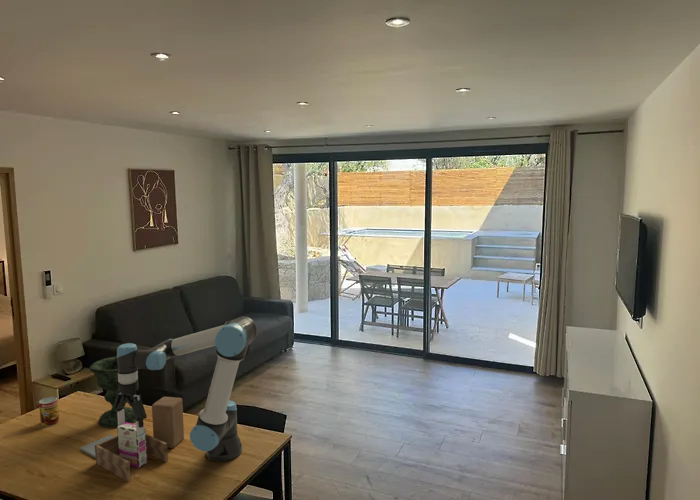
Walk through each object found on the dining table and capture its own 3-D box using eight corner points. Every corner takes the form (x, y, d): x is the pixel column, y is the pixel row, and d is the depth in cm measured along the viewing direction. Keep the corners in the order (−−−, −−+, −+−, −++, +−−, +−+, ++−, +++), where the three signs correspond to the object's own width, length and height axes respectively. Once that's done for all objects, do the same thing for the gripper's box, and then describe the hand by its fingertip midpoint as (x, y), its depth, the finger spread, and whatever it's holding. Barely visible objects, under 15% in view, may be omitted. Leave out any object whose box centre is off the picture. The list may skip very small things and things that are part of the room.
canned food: (45, 428, 237) (43, 404, 236) (37, 424, 241) (35, 401, 240) (62, 421, 244) (60, 398, 242) (54, 418, 248) (52, 395, 247)
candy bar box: (148, 462, 206) (145, 425, 204) (139, 468, 201) (136, 431, 199) (128, 457, 210) (126, 421, 208) (118, 463, 205) (116, 426, 204)
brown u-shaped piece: (167, 461, 207) (167, 443, 206) (128, 481, 192) (127, 462, 191) (135, 445, 220) (134, 428, 219) (96, 463, 205) (94, 445, 205)
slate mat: (127, 445, 220) (127, 443, 220) (96, 459, 209) (96, 456, 209) (110, 436, 228) (110, 434, 228) (80, 449, 217) (80, 447, 216)
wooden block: (173, 449, 216) (170, 406, 214) (153, 447, 218) (150, 404, 216) (185, 438, 226) (183, 397, 224) (165, 436, 228) (163, 395, 226)
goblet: (121, 433, 232) (117, 372, 228) (83, 427, 238) (79, 368, 234) (152, 413, 253) (149, 357, 249) (116, 408, 259) (113, 353, 255)
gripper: (154, 384, 198) (156, 434, 200) (120, 372, 212) (122, 418, 214) (137, 391, 191) (139, 441, 194) (103, 377, 205) (105, 425, 208)
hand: (130, 429), depth 204 cm, fingers open, 13 cm apart
